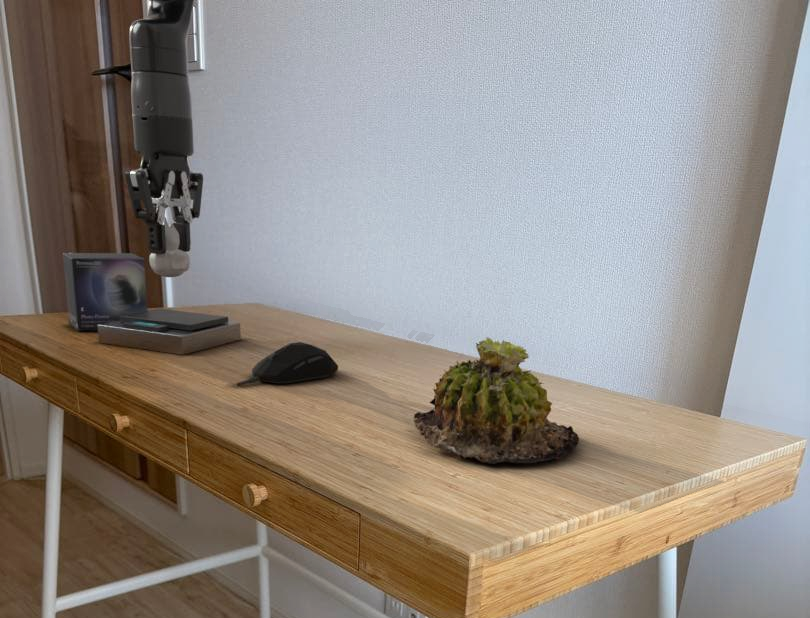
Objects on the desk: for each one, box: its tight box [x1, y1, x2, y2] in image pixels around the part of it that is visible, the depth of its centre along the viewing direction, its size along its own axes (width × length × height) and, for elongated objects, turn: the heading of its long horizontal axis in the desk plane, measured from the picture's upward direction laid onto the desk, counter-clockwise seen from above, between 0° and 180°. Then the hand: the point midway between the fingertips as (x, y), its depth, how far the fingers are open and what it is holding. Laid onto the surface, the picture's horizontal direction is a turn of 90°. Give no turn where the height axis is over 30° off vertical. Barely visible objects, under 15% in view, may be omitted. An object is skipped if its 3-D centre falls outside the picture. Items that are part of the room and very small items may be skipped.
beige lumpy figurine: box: [149, 216, 191, 278], centre depth 114 cm, size 5×7×8 cm
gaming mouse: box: [236, 341, 339, 387], centre depth 100 cm, size 6×15×4 cm, turn 138°
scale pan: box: [120, 308, 229, 331], centre depth 118 cm, size 12×9×1 cm
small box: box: [62, 252, 148, 332], centre depth 124 cm, size 11×6×10 cm, turn 122°
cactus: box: [413, 336, 580, 465], centre depth 79 cm, size 17×16×10 cm
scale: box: [97, 320, 242, 356], centre depth 118 cm, size 14×14×3 cm
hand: (170, 251), depth 115 cm, fingers closed on beige lumpy figurine, 4 cm apart
